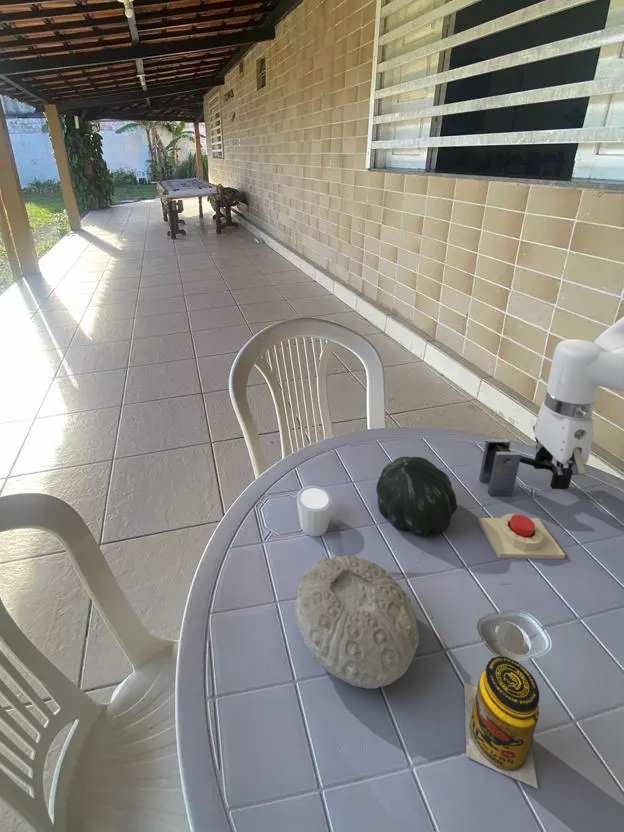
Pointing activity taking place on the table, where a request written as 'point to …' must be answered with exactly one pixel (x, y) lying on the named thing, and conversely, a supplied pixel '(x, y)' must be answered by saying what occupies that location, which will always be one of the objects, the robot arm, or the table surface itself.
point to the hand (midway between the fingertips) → (550, 477)
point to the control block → (519, 540)
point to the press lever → (527, 459)
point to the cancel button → (522, 525)
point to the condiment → (503, 719)
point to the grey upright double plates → (499, 468)
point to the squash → (416, 496)
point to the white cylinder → (314, 510)
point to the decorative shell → (356, 621)
